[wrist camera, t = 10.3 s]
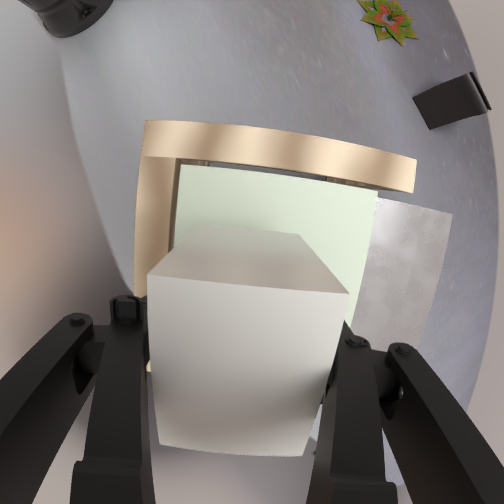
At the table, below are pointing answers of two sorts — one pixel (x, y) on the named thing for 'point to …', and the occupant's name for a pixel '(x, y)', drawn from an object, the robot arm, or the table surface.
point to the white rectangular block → (241, 340)
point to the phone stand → (452, 101)
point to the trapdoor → (334, 240)
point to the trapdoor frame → (243, 153)
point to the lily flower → (398, 14)
